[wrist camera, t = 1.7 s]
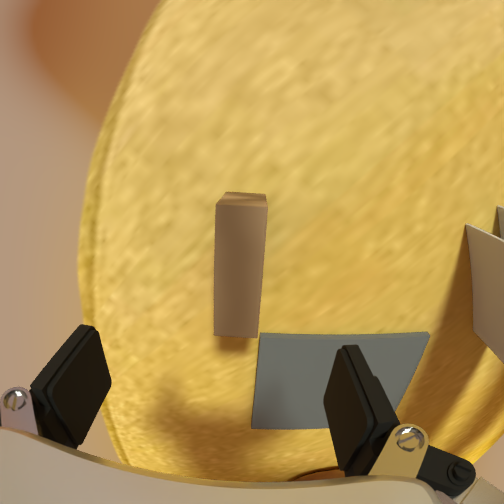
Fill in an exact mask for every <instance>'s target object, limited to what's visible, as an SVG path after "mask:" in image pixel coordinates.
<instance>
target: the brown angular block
mask: <svg viewBox="0 0 504 504" xmlns="http://www.w3.org/2000/svg"><path fill="white" fill-rule="evenodd" d="M267 212H268V206H267V201H266V195H265V194H256V193H240V192H226V193H225V194H224V195H223V196H222V198H221V199H220V200H219V201H218V202H217V204H216V215H215V255H214V335H216V336H229V337H243V338H257V337H258V325H259V314H260V302H261V289H262V277H263V264H264V252H265V238H266V225H267Z"/></svg>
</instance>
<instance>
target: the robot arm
mask: <svg viewBox="0 0 504 504" xmlns="http://www.w3.org/2000/svg"><path fill="white" fill-rule="evenodd" d="M111 383H112V382H111V377H110V373H109V370H108V366H107V363H106V359H105V355H104V351H103V348H102V344H101V339H100V335H99V332H98V331H96V329H95V328H94V327H93V326H88V325H83V324H81V325H79V327H78V328H77V329H76V330H75V331H74V332H73V333H72V335H71V336H70V337H69V338H68V339H67V340H66V342H65V343H64V344H63V345H62V346H61V348H60V349H59V350H58V351H57V352H56V354H55V355H54V356H53V357H52V358H51V360H50V361H49V362H48V363H47V365H46V366H45V367H44V368H43V370H42V371H41V372H40V374H39V375H38V376H37V377H36V378H35V380H34V381H33V382H32V384H31V385H30V387H31V389H30V391H28V390H27V389H25V388H23V387H13V388H11V389H8V390H7V391H5V393H4V394H3V395H2V397H1V399H0V504H504V493H503V492H502V491H500V490H499V489H497V488H496V487H495V486H493V485H492V484H490V483H489V482H488V481H486V480H485V479H483V478H482V477H480V478H479V479H478V478H476V477H475V476H476V472H475V468H474V467H473V465H472V464H471V463H470V462H469V461H467V460H465V459H463V458H460V457H458V456H455V455H452V454H450V453H447V452H445V451H442V450H440V449H437V448H435V447H432V446H430V445H428V444H429V438H428V435H427V433H426V432H425V430H423V429H422V428H421V427H419V426H417V425H415V424H401V425H400V422H399V420H398V418H397V416H396V414H395V412H394V410H393V407H392V405H391V403H390V401H389V399H388V397H387V395H386V393H385V391H384V389H383V387H382V385H381V383H380V381H379V379H378V377H376V376H373V374H372V372H371V370H370V368H369V366H368V364H367V362H366V360H365V357H364V355H363V353H362V351H361V350H360V348H359V346H358V345H343V346H342V348H341V349H338V350H337V352H336V356H335V360H334V363H333V367H332V370H331V374H330V377H329V381H328V384H327V388H326V391H325V394H324V398H323V405H324V409H325V413H326V417H327V421H328V425H329V429H330V433H331V437H332V441H333V445H334V450H335V454H336V458H337V462H338V467H339V469H340V471H344V474H345V477H344V478H335V479H324V480H312V481H293V482H240V481H224V480H212V479H202V478H194V477H186V476H179V475H173V474H167V473H162V472H156V471H151V470H147V469H142V468H138V467H133V466H129V465H125V464H121V463H117V462H114V461H110V460H106V459H103V458H100V457H97V456H94V455H90V454H88V453H85V452H81V451H79V450H76V449H77V447H78V445H81V444H82V443H83V441H84V439H85V437H86V435H87V433H88V431H89V429H90V427H91V425H92V423H93V421H94V419H95V417H96V415H97V412H98V411H99V409H100V407H101V405H102V403H103V401H104V399H105V397H106V395H107V393H108V391H109V389H110V387H111ZM352 476H355V477H352Z"/></svg>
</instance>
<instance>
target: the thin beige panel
mask: <svg viewBox="0 0 504 504" xmlns="http://www.w3.org/2000/svg"><path fill="white" fill-rule="evenodd" d="M497 210H498V218H499V227H500V238H499V237H497V236H495V235H493V234H490V233H488V232H486V231H484V230H482V229H480V228H477V227H475V226H473V225H471V224H468V223H467V224H465V225H466V231H467V238H468V245H469V254H470V264H471V275H472V292H473V331H474V332H475V333H476V334H477V335H478V337H479V338H480V339H481V340H482V341H483V342H484V343H485V344H486V345H487V346H488V347H489V348H490V349H491V350H492V351H493V352H494V354H495V355H496V356H497V357H498V358H499V359H500V360H501V361H502V362H503V363H504V207H502V206H499V205H498V206H497Z"/></svg>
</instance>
